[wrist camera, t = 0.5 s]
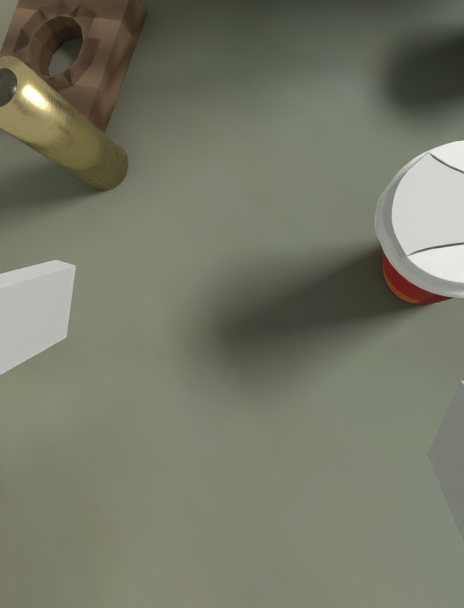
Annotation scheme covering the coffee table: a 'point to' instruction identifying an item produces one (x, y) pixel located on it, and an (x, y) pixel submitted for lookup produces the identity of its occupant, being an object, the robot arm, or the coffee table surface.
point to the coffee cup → (424, 227)
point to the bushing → (57, 127)
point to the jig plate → (94, 52)
